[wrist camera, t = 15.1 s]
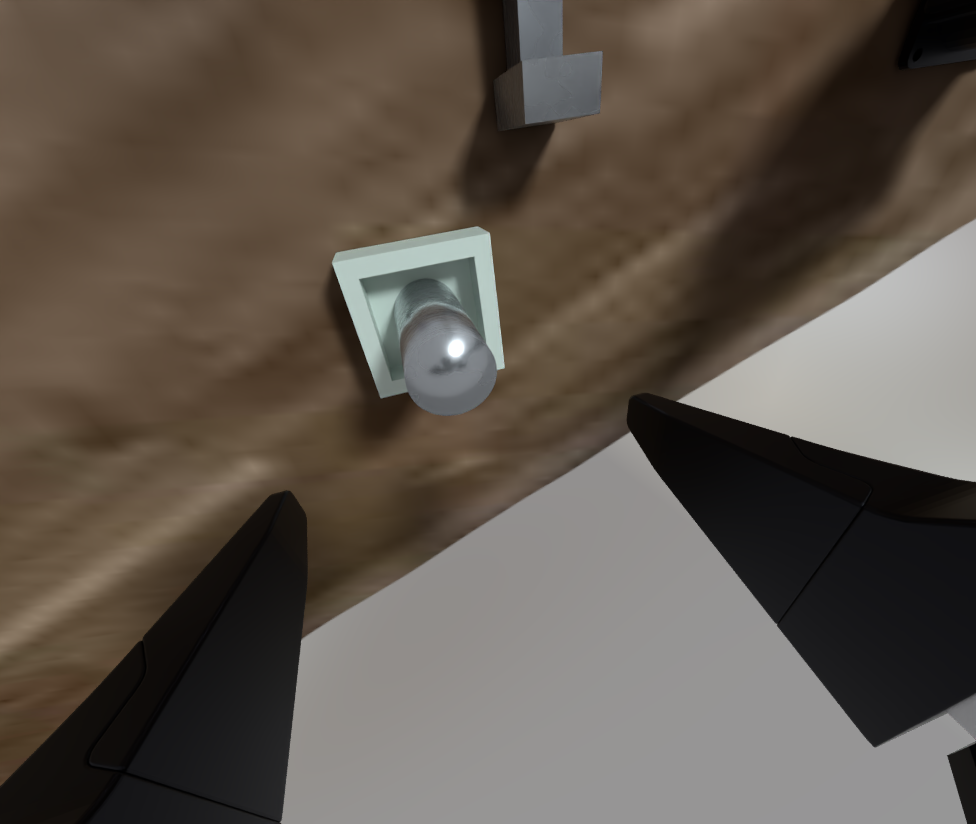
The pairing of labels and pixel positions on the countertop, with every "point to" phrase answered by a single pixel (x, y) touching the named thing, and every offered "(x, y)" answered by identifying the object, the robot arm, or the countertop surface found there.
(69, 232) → the countertop surface
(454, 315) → the polished steel rod
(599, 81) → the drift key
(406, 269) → the tray
